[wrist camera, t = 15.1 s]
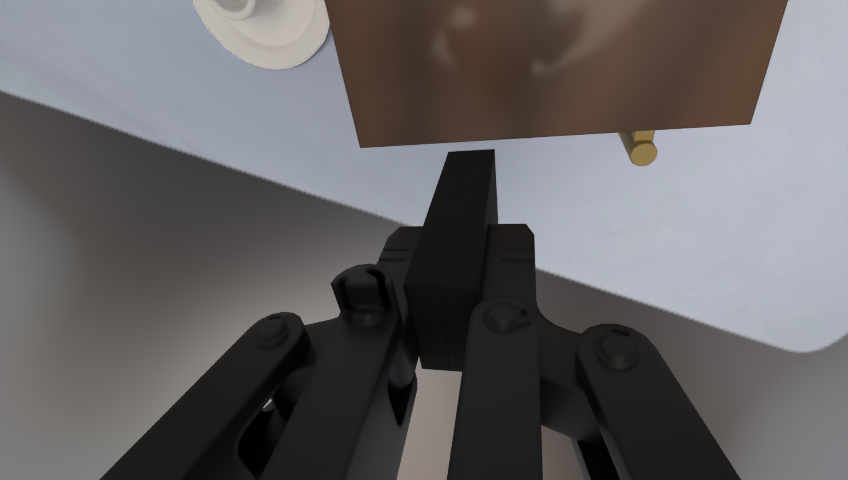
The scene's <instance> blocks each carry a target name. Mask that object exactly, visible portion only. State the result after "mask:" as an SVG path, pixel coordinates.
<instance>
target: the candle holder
mask: <svg viewBox="0 0 848 480" xmlns="http://www.w3.org/2000/svg"><path fill="white" fill-rule="evenodd" d="M191 1H192V3H193V5H194V7H195V9H196V11H197V13H198V15H199V16H200V18H201V20H202V21H203V23H204V24H205V26H206V27H207V28H208V30H209V31H210V32H211V34H212V35H213V36H214V37H215V38H216V39H217V40H218V41H219V42H220V43H221V44H222V45H223V46H224V47H225V48H226V49H227V50H229V51H230V52H231V53H232V54H234V55H235V56H237V57H238V58H240V59H242V60H243V61H245V62H247V63H249V64H252V65H254V66H257V67H261V68H265V69H273V70H281V69H288V68H292V67H295V66H297V65H299V64H301V63H303V62H305V61H306V60H308V59H309V58H310V57H311V56H312V55H313V54H314V53H315V52H316V51H317V50H318V49H319V48H320V46H321V45H322V44H323V43H324V41H325V40H326V37H327V33H328V30H329V26H330V22H329V18H328V14H327V9H326V5H325V1H324V0H191Z"/></svg>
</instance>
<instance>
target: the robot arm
mask: <svg viewBox="0 0 848 480" xmlns="http://www.w3.org/2000/svg"><path fill="white" fill-rule="evenodd" d="M535 279H536V278H535V246H534V234H533V233H532V231H531V230H530V229H529V227H528V226H527V225H526V224H498V209H497V189H496V169H495V149H490V150H472V151H454V152H448V155H447V158H446V161H445V164H444V167H443V170H442V173H441V175H440V178H439V181H438V184H437V187H436V190H435V193H434V196H433V199H432V201H431V204H430V207H429V210H428V213H427V216H426V219H425V222H424V225H423V226H415V227H399V228H398V229H397V230H396V231H395V232H394V233H393V234H391V235H390V236H389V237H388V239H387V241H386V244H385V246H384V248H383V251H382V253H381V255H380V257H379V261H378V262H377V264H376V265H374V264H363V265H357V266H354V267H352V268H349V269H346V270H345V271H343V272H342V273H340V274H339V275H338V276H336V278H335V279H334V280H333V281H332V282H331V286H332V289H333V291H334V294H335V297H336V300H337V303H338V305H339V308H340V311H341V312H340V315H339V316H338V317H337V318H334V319H331V320H327V321H322V322H318V323H313V324H308V325H304V324H303V322H302V320H301V318H300V316H298V315H296V314H294V313H290V312H280V313H275V314H271V315H269V316H267V317H265V318H263V319H260V320H259V321H258V322H256V323H255V324H254V325H253V326H252V327H250V328H249V329H248V330H247V331H246V332H245V333H244V334H243V335H242V336H241V337H240V338H239V339H238V340H237V341H236V343H235V344H233V345H232V346H231V347H230V349H228V351H226V352H225V353H224V355H222V356H221V357H220V359H219V360H217V362H216V363H215V364H214V365H213V366H212V367H211V368H210V369H209V370H208V371H207V372H206V373H205V374H204V375H203V376H202V377H201V378H200V379H199V380H198V381H197V382H196V383H195V384H194V385H193V386H192V387H191V388H190V389H189V390H188V391H187V392H186V393H185V394H184V395H183V396H182V397H181V398H180V399H179V400H178V401H177V402H176V403H175V404H174V405H173V406H172V407H171V408H170V409H169V410H168V411H167V412H166V413H165V414H164V415H163V416H162V417H161V418H160V419H159V420H158V421H157V422H156V423H155V424H154V425H153V426H152V427H151V428H150V429H149V430H148V431H147V432H146V433H145V434H144V435H143V436H142V437H141V438H140V439H139V440H138V441H137V442H136V443H135V444H134V445H133V446H132V447H131V448H130V449H129V450H128V451H127V452H126V454H124V455H123V456H122V457H121V458H120V459H119V460H118V462H116V463H115V465H114V466H113V467H112V468H111V469H110V470H109V471H108V472H107V473H106V474H105V475H104V476H103V477H102V478H101V479H100V480H396V479H397V474H398V470H399V466H400V462H401V457H402V453H403V449H404V444H405V440H406V436H407V431H408V427H409V423H410V418H411V414H412V410H413V406H414V401H415V397H416V393H417V378H416V373H415V369H416V365H417V361H418V357H420V362H421V366H422V369H433V370H446V371H461V372H462V378H461V385H460V393H459V399H458V406H457V413H456V420H455V427H454V434H453V441H452V447H451V454H450V461H449V468H448V475H447V480H543V472H542V441H541V425H543V426H545V427H547V428H550V429H552V430H554V431H557V432H559V433H562V434H564V435H566V436H569V437H570V439H571V442H572V445H573V448H574V451H575V454H576V456H577V459H578V462H579V465H580V468H581V470H582V474H583V477H584V480H741V479H740V478H739V476H738V474H737V473H736V471H735V470H734V468H733V467H732V465H731V463H730V462H729V460H728V459H727V457H726V456H725V454H724V453H723V451H722V450H721V448H720V446H719V445H718V443H717V442H716V440H715V439H714V437H713V436H712V434H711V433H710V431H709V429H708V428H707V426H706V425H705V423H704V422H703V420H702V419H701V417H700V415H699V414H698V412H697V411H696V409H695V408H694V406H693V405H692V403H691V401H690V400H689V398H688V397H687V395H686V394H685V392H684V391H683V389H682V387H681V386H680V384H679V383H678V381H677V380H676V378H675V377H674V375H673V374H672V372H671V371H670V369H669V367H668V366H667V364H666V363H665V361H664V360H663V358H662V357H661V355H660V353H659V352H658V350H657V349H656V347H655V346H654V345H653V344H652V343H651V342H650V341H649V339H648V338H647V337H646V336H644V335H643V334H641V333H639V332H637V331H636V330H634V329H632V328H629V327H626V326H622V325H619V324H600V325H596V326H593V327H589V328H588V329H587V330H586V331H584V332H583V333H582V334H580V333H577V332H573V331H569V330H567V329H564V328H562V327H559V326H556V325H555V324H553V323H552V322H550V321H549V320H547V319H546V318H545V317H544V316H543V315H542V314H541V312H540V310H539V309H538V307H537V302H536V280H535ZM270 398H271V400H272V401H271V403H269V404H268V405H267V406H266V407H265V408H263V407H264V406H265V405H266V403H267V402H268V401H269V400H270Z"/></svg>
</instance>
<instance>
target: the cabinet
mask: <svg viewBox="0 0 848 480" xmlns="http://www.w3.org/2000/svg"><path fill="white" fill-rule="evenodd" d="M324 1H325V5H326V9H327V14H328V18H329V22H330V26H331V30H332V34H333V38H334V42H335V46H336V50H337V55H338V59H339V63H340V67H341V71H342V75H343V79H344V83H345V87H346V91H347V96H348V100H349V104H350V108H351V112H352V116H353V120H354V124H355V128H356V132H357V137H358V141H359V145H360V148H368V147H385V146H401V145H418V144H434V143H451V142H467V141H484V140H500V139H517V138H533V137H550V136H566V135H583V134H599V133H616V132H633V131H649V130H666V129H682V128H699V127H715V126H732V125H748V124H751V121H752V118H753V115H754V111H755V108H756V105H757V101H758V98H759V95H760V91H761V88H762V85H763V81H764V78H765V75H766V71H767V68H768V65H769V61H770V58H771V55H772V51H773V48H774V45H775V41H776V38H777V35H778V32H779V28H780V25H781V22H782V18H783V15H784V12H785V8H786V5H787V2H788V0H324Z"/></svg>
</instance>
